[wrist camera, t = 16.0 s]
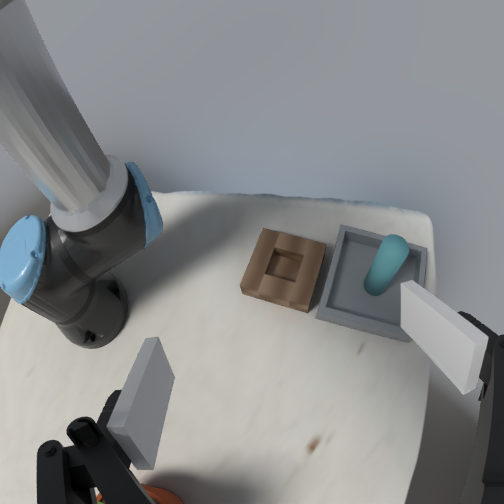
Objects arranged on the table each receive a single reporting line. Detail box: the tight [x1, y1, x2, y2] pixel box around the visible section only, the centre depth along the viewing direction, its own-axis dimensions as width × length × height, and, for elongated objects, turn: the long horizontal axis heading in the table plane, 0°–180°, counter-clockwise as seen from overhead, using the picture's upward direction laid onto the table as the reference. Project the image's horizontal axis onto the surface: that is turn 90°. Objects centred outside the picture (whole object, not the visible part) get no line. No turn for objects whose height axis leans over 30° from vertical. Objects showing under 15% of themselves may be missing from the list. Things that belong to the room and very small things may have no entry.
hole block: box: [240, 228, 327, 313], centre depth 51 cm, size 11×11×4 cm
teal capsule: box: [363, 235, 409, 296], centre depth 43 cm, size 4×4×12 cm
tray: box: [316, 225, 427, 343], centre depth 48 cm, size 16×16×4 cm
